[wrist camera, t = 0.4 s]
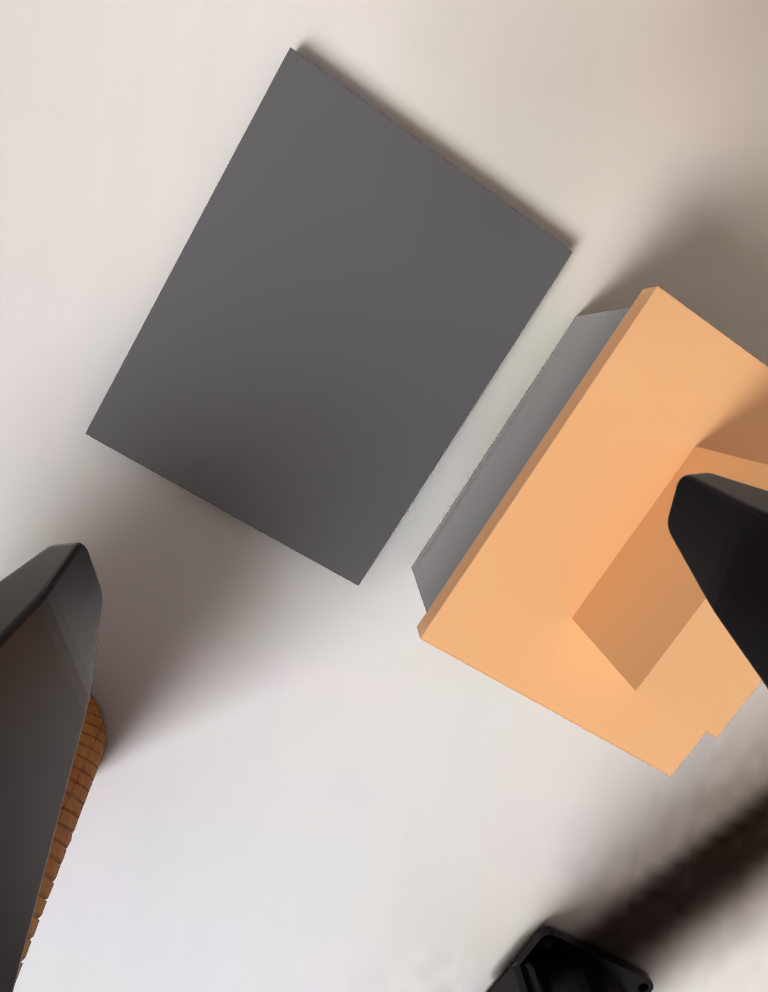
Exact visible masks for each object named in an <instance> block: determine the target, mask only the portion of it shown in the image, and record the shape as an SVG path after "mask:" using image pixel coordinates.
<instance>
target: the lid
mask: <svg viewBox="0 0 768 992" xmlns="http://www.w3.org/2000/svg"><path fill="white" fill-rule="evenodd" d="M697 473H712V474H715V475H719V476H722V477H725V478H728V479H731V480H735V481H738V482H741V483H744V484H747V485H751V486H754V487H757V488H760V489H763V490H766V491H768V367H767V366H766V365H765V364H763V363H762V362H760V361H759V360H758V359H756V358H755V357H754V356H752V355H751V354H750V353H748V352H747V351H746V350H744V349H743V348H741V347H740V346H739V345H737V344H736V343H735V342H733V341H732V340H731V339H729V338H728V337H726V336H725V335H724V334H722V333H721V332H720V331H718V330H717V329H716V328H714V327H713V326H712V325H710V324H709V323H707V322H706V321H705V320H703V319H702V318H701V317H699V316H698V315H697V314H695V313H694V312H692V311H691V310H690V309H688V308H687V307H686V306H684V305H683V304H682V303H680V302H679V301H678V300H676V299H675V298H673V297H672V296H671V295H669V294H668V293H667V292H665V291H664V290H663V289H661V288H660V287H658V286H655V287H650V288H646V289H643V290H642V291H641V293H640V294H639V296H638V297H637V299H636V300H635V302H634V303H633V305H632V306H631V308H630V309H629V311H628V312H627V314H626V315H625V317H624V318H623V320H622V321H621V323H620V324H619V326H618V327H617V329H616V330H615V332H614V333H613V334H612V336H611V337H610V339H609V340H608V342H607V343H606V345H605V346H604V348H603V349H602V351H601V352H600V354H599V355H598V357H597V358H596V360H595V361H594V363H593V364H592V366H591V367H590V369H589V370H588V372H587V373H586V375H585V376H584V378H583V379H582V381H581V382H580V384H579V385H578V387H577V388H576V390H575V391H574V393H573V394H572V396H571V397H570V399H569V400H568V402H567V403H566V405H565V406H564V408H563V409H562V411H561V412H560V414H559V415H558V417H557V418H556V420H555V421H554V423H553V424H552V426H551V427H550V429H549V430H548V432H547V433H546V435H545V436H544V438H543V439H542V441H541V442H540V444H539V445H538V447H537V448H536V450H535V451H534V453H533V454H532V456H531V457H530V459H529V460H528V462H527V463H526V465H525V466H524V468H523V469H522V471H521V472H520V474H519V475H518V476H517V478H516V479H515V481H514V482H513V484H512V485H511V487H510V488H509V490H508V491H507V493H506V494H505V496H504V497H503V499H502V500H501V502H500V503H499V505H498V506H497V508H496V509H495V511H494V512H493V514H492V515H491V517H490V518H489V520H488V521H487V523H486V524H485V526H484V527H483V529H482V530H481V532H480V533H479V535H478V536H477V538H476V539H475V541H474V542H473V544H472V545H471V547H470V548H469V550H468V551H467V553H466V554H465V556H464V557H463V559H462V560H461V562H460V563H459V565H458V566H457V568H456V569H455V571H454V572H453V574H452V575H451V577H450V578H449V580H448V581H447V583H446V584H445V586H444V587H443V589H442V590H441V592H440V593H439V595H438V596H437V598H436V599H435V601H434V602H433V604H432V605H431V607H430V608H429V610H428V611H427V613H426V614H425V616H424V617H423V618H422V620H421V621H420V623H419V624H418V626H417V629H418V633H419V636H420V639H422V640H423V641H425V642H427V643H429V644H431V645H432V646H434V647H436V648H438V649H440V650H442V651H443V652H445V653H447V654H449V655H451V656H452V657H454V658H456V659H458V660H460V661H462V662H463V663H465V664H467V665H469V666H471V667H472V668H474V669H476V670H478V671H480V672H482V673H483V674H485V675H487V676H489V677H491V678H492V679H494V680H496V681H498V682H500V683H502V684H503V685H505V686H507V687H509V688H511V689H512V690H514V691H516V692H518V693H520V694H522V695H523V696H525V697H527V698H529V699H531V700H532V701H534V702H536V703H538V704H540V705H542V706H543V707H545V708H547V709H549V710H551V711H552V712H554V713H556V714H558V715H560V716H562V717H563V718H565V719H567V720H569V721H571V722H572V723H574V724H576V725H578V726H580V727H582V728H583V729H585V730H587V731H589V732H591V733H592V734H594V735H596V736H598V737H600V738H602V739H603V740H605V741H607V742H609V743H611V744H612V745H614V746H616V747H618V748H620V749H622V750H623V751H625V752H627V753H629V754H631V755H632V756H634V757H636V758H638V759H640V760H642V761H643V762H645V763H647V764H649V765H651V766H652V767H654V768H656V769H658V770H660V771H662V772H663V773H665V774H667V775H669V776H672V774H673V773H674V772H675V771H676V769H677V768H678V767H679V765H680V764H681V763H682V762H683V760H684V759H685V758H686V757H687V755H688V754H689V753H690V751H691V750H692V749H693V748H694V746H695V745H696V744H697V743H698V741H699V740H700V739H701V738H702V736H703V735H704V734H705V732H707V733H709V734H711V735H713V736H714V737H716V738H717V737H718V735H719V734H720V733H721V732H722V730H723V729H724V728H725V727H726V725H727V724H728V723H729V722H730V720H731V719H732V718H733V716H734V715H735V714H736V713H737V711H738V710H739V709H740V708H741V706H742V705H743V704H744V703H745V701H746V700H747V699H748V698H749V696H750V695H751V694H752V693H753V691H754V690H755V689H756V687H757V686H758V685H759V684H760V682H761V681H762V680H761V678H760V677H759V676H758V674H757V673H756V671H755V670H754V668H753V667H752V666H751V664H750V663H749V661H748V660H747V658H746V657H745V656H744V654H743V653H742V651H741V650H740V648H739V647H738V646H737V644H736V643H735V641H734V640H733V639H732V637H731V636H730V634H729V633H728V631H727V630H726V629H725V627H724V626H723V624H722V623H721V621H720V620H719V618H718V617H717V615H716V614H715V612H714V611H713V609H712V608H711V606H710V604H709V603H708V601H707V599H706V598H705V596H704V594H703V592H702V590H701V589H700V587H699V585H698V583H697V581H696V580H695V578H694V576H693V574H692V572H691V571H690V569H689V567H688V565H687V563H686V562H685V560H684V558H683V556H682V554H681V553H680V551H679V549H678V547H677V546H676V544H675V542H674V540H673V538H672V537H671V535H670V532H669V529H668V516H669V512H670V508H671V505H672V501H673V497H674V494H675V490H676V486H677V483H678V481H679V480H680V478H681V477H683V476H685V475H689V474H697Z"/></svg>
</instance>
